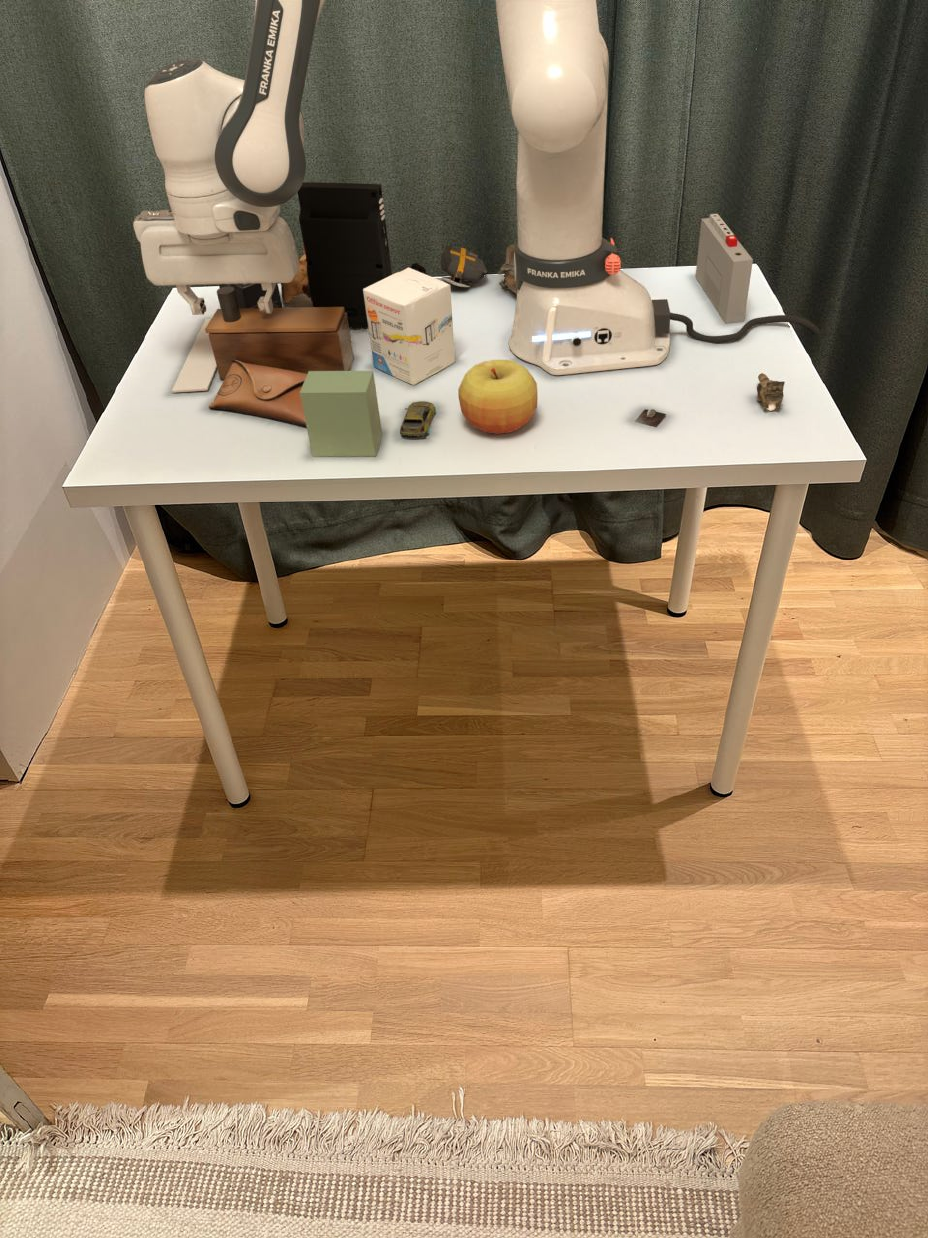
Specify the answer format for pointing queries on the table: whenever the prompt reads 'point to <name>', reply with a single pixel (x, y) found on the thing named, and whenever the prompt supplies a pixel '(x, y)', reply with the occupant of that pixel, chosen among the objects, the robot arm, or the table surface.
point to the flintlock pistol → (508, 270)
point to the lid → (270, 317)
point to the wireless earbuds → (418, 268)
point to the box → (253, 295)
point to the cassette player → (723, 269)
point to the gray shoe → (462, 266)
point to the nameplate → (197, 365)
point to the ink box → (410, 325)
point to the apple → (498, 396)
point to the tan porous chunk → (297, 283)
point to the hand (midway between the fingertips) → (233, 312)
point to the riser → (341, 413)
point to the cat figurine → (770, 392)
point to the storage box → (286, 349)
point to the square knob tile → (650, 417)
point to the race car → (417, 420)
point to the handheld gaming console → (344, 244)
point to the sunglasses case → (262, 392)
